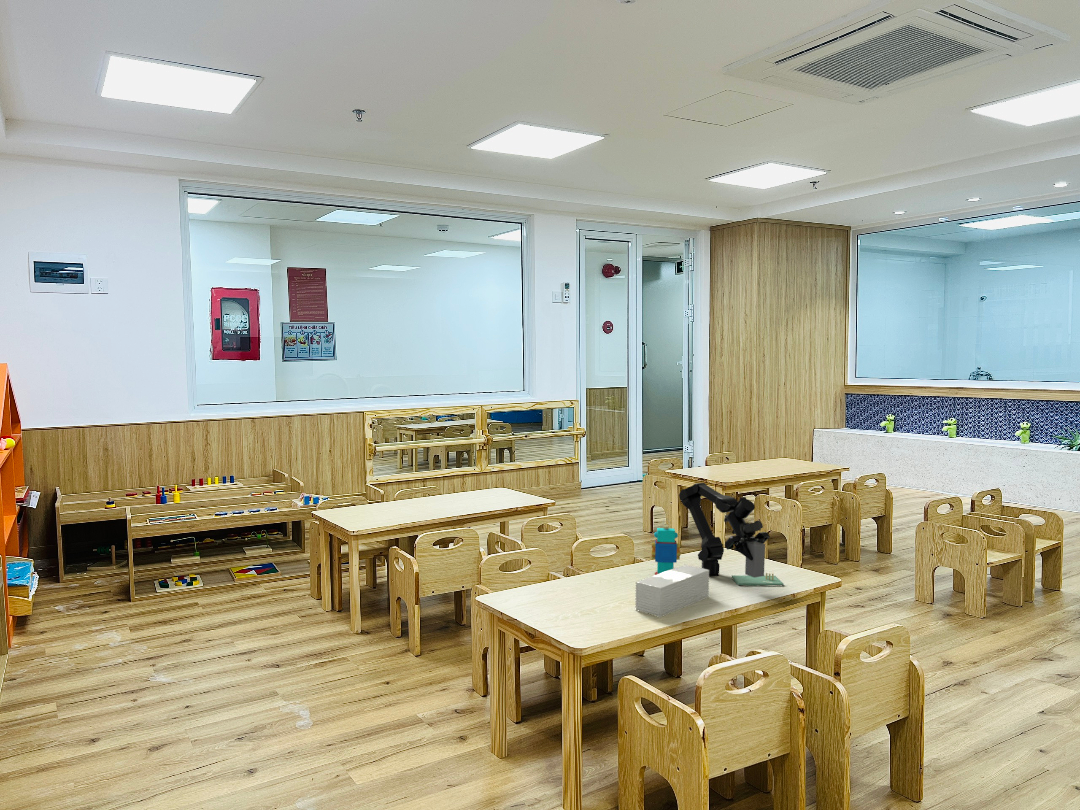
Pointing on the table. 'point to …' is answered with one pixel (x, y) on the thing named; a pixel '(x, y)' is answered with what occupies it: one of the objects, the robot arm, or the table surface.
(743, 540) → the robot arm
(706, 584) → the stack of papers
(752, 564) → the block
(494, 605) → the table surface
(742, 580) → the board
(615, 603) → the table surface
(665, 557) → the toy robot
